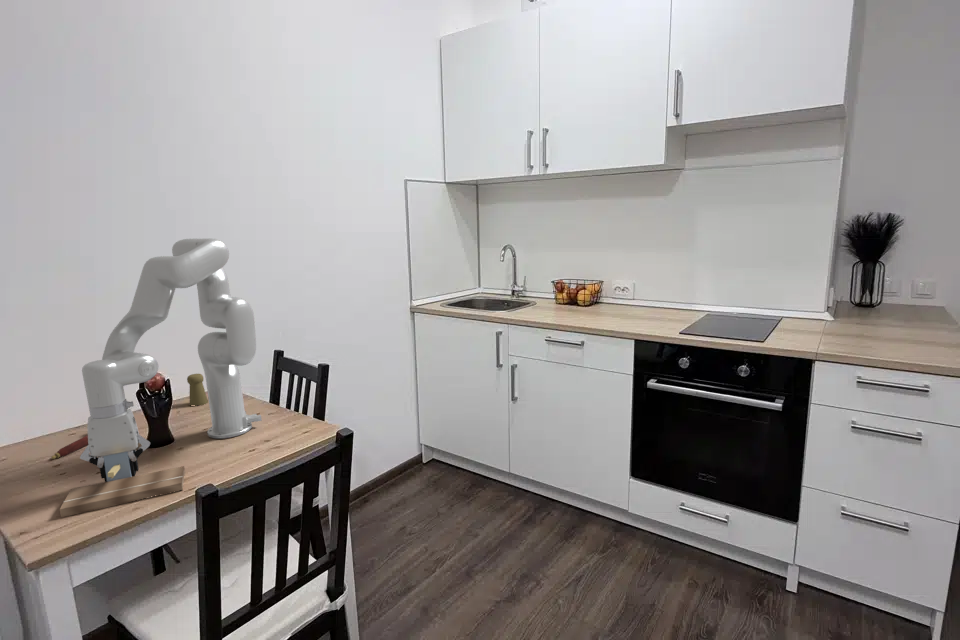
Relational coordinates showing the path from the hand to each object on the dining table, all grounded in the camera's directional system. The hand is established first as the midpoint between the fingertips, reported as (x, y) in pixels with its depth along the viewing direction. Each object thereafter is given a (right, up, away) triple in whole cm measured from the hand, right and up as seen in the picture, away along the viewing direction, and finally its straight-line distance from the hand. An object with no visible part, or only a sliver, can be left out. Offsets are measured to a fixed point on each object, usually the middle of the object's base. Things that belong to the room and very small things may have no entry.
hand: (120, 476), depth 132 cm
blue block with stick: (+2, 0, -4) cm, 4 cm away
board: (+6, -2, -6) cm, 8 cm away
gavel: (-26, +2, +24) cm, 36 cm away
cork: (-11, +9, +56) cm, 58 cm away
